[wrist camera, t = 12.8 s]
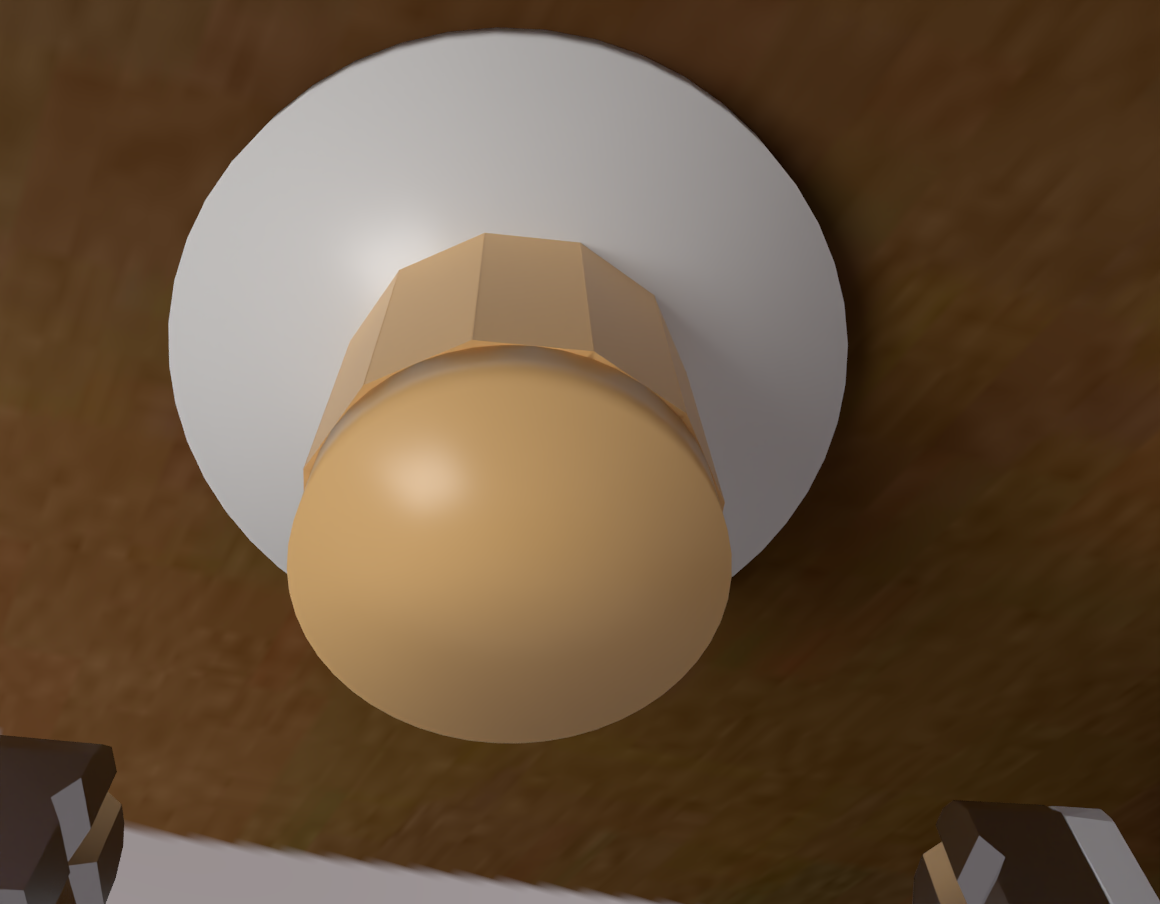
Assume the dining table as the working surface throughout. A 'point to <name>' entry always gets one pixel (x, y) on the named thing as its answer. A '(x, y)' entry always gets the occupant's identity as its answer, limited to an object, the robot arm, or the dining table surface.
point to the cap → (510, 500)
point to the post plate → (509, 207)
